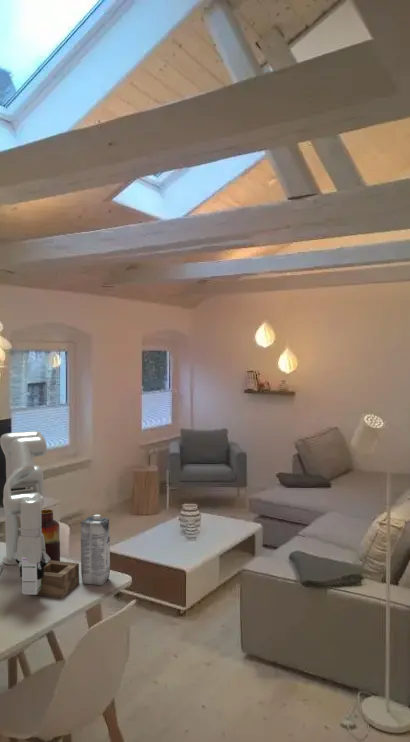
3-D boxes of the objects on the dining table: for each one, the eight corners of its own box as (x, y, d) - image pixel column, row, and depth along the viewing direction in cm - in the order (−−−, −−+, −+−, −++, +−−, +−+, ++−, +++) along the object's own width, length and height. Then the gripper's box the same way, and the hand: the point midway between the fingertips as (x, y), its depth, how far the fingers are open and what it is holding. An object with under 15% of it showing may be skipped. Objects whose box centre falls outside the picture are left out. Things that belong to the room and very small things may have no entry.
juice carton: (102, 587, 219) (101, 520, 218) (79, 584, 222) (78, 518, 221) (112, 578, 228) (111, 514, 227) (89, 575, 231) (88, 512, 230)
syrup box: (36, 595, 207) (37, 557, 206) (21, 594, 207) (21, 556, 206) (41, 588, 213) (42, 551, 212) (26, 587, 213) (26, 551, 212)
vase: (28, 575, 232) (27, 514, 231) (42, 565, 242) (41, 506, 241) (52, 577, 229) (51, 515, 228) (65, 567, 240) (64, 508, 239)
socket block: (48, 579, 228) (48, 560, 227) (79, 582, 224) (78, 563, 224) (29, 593, 214) (29, 573, 214) (61, 597, 210) (61, 577, 210)
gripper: (5, 532, 207) (6, 578, 208) (46, 537, 202) (46, 584, 204) (17, 525, 214) (17, 570, 215) (56, 530, 210) (57, 575, 211)
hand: (31, 576), depth 209 cm, fingers closed on syrup box, 6 cm apart
